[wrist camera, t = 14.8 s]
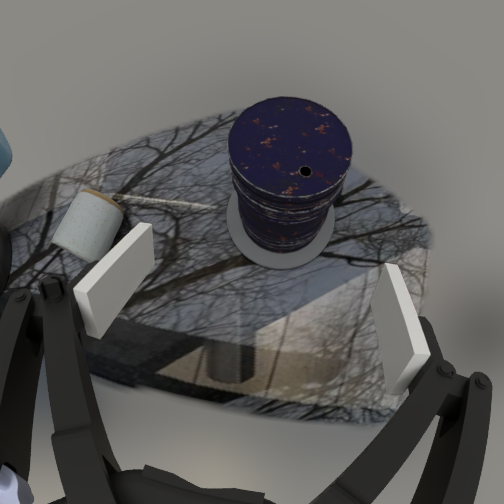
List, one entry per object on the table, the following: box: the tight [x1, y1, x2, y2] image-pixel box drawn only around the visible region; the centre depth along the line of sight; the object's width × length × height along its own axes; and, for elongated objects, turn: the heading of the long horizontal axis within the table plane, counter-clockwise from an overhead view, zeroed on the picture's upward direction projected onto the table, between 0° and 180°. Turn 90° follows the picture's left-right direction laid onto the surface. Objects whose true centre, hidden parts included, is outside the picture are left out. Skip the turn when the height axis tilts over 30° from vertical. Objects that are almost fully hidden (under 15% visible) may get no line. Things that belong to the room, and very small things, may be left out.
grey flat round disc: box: [226, 190, 335, 270], centre depth 37 cm, size 13×13×2 cm
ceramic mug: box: [52, 189, 124, 263], centre depth 35 cm, size 11×8×8 cm
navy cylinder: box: [227, 96, 353, 254], centre depth 29 cm, size 10×10×15 cm
